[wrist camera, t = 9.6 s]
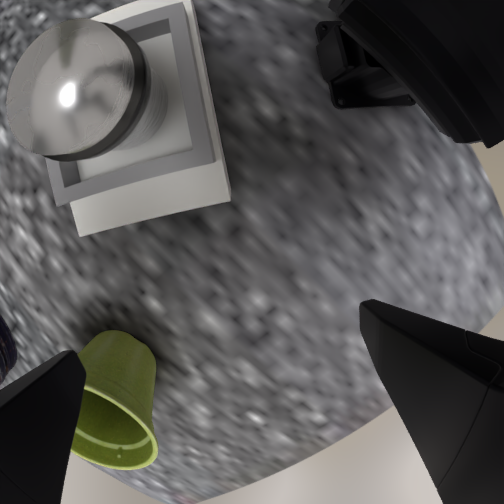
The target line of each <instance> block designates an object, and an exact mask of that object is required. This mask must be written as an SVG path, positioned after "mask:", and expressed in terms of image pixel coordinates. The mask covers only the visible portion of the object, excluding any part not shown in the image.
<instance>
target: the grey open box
mask: <svg viewBox="0 0 504 504" xmlns="http://www.w3.org/2000/svg"><path fill="white" fill-rule="evenodd" d="M91 19H92V20H96V21H99V22H104V23H109V24H112V25H115V26H117V27H119V28H121V29H123V30H124V31H125V32H126V33H128V34H129V35H130V36H131V37H132V38H133V39H134V40H135V41H136V42H137V44H138V45H139V46H140V47H141V48H142V50H143V51H144V53H145V54H146V57H147V59H148V62H149V65H150V66H151V67H152V68H153V69H154V70H155V71H156V72H157V73H158V74H159V75H160V76H161V77H162V79H163V81H164V82H165V85H166V87H167V91H168V109H167V113H166V116H165V118H164V121H163V123H162V124H161V126H160V128H159V129H158V131H157V132H156V133H155V134H154V135H153V136H152V137H151V138H150V139H149V140H148V141H146V142H145V143H143V144H141V145H140V146H138V147H135V148H132V149H128V150H119V151H109V152H108V153H106V154H104V155H101V156H99V157H96V158H92V159H86V160H78V161H70V162H60V161H55V160H51V159H49V158H46V157H45V158H46V163H47V168H48V173H49V177H50V182H51V186H52V190H53V194H54V198H55V202H56V206H57V207H58V206H61V205H63V204H66V203H69V202H70V205H71V208H72V212H73V216H74V219H75V223H76V226H77V230H78V233H79V236H80V237H82V236H85V235H89V234H93V233H97V232H100V231H104V230H108V229H112V228H116V227H120V226H123V225H127V224H131V223H135V222H140V221H144V220H148V219H152V218H156V217H160V216H165V215H169V214H173V213H178V212H182V211H186V210H191V209H195V208H200V207H205V206H209V205H214V204H219V203H224V202H228V201H231V187H230V182H229V177H228V173H227V168H226V163H225V158H224V153H223V148H222V143H221V138H220V133H219V128H218V123H217V118H216V113H215V108H214V103H213V98H212V93H211V88H210V83H209V78H208V73H207V68H206V63H205V58H204V53H203V48H202V43H201V37H200V32H199V27H198V22H197V17H196V12H195V9H194V5H193V2H192V0H138V1H135V2H132V3H129V4H126V5H124V6H121V7H118V8H115V9H113V10H110V11H108V12H105V13H103V14H100V15H98V16H95V17H93V18H91Z"/></svg>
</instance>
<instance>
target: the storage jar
mask: <svg viewBox="0 0 504 504" xmlns="http://www.w3.org/2000/svg"><path fill="white" fill-rule="evenodd" d="M16 360H17V350H16V345H15V342H14V339H13V336H12V334H11V332H10V330H9V328H8V326H7V324H6V323H5V321H4V320H3V318H2V317H1V315H0V385H1V384H2V382H3V381H4V379H5V377H6V375H7V374H8V372H9V371H10V370H11V369H12V368H13V367H14V365H15V363H16Z"/></svg>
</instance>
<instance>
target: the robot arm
mask: <svg viewBox="0 0 504 504" xmlns="http://www.w3.org/2000/svg"><path fill="white" fill-rule="evenodd" d="M328 8H330V9H331V10H332V11H334V12H335V13H337V18H338V19H340V20H341V21H322V22H319V23H318V24H317V26H316V33H317V36H318V40H319V44H318V45H317V52H318V56H319V60H320V64H321V68H322V73H323V77H324V80H325V81H327V82H329V87H330V91H331V96H332V101H333V105H334V106H335V107H336V108H337V109H352V108H367V107H387V106H412V105H415V104H416V103H417V104H418V105H419V106H420V107H421V109H422V110H423V111H424V112H425V113H426V115H427V116H428V117H429V118H430V120H431V121H432V122H433V123H434V125H435V126H436V127H437V128H438V130H439V131H440V132H442V133H443V134H445V135H447V136H449V137H451V138H452V139H453V141H454V142H455V143H467V144H472V143H477V142H483V143H484V145H485V146H486V147H487V148H491V147H493V146H494V145H496V144H498V143H499V142H501V141H503V140H504V0H330V3H329V6H328ZM321 26H323V27H325V28H326V31H324V30H322V29H321ZM408 96H409V97H410V98H411V102H410V101H409V100H408ZM338 99H342V100H343V105H340V104H339V103H338ZM359 312H360V331H361V334H362V337H363V339H364V341H365V344H366V346H367V349H368V351H369V354H370V356H371V359H372V361H373V364H374V366H375V369H376V371H377V373H378V375H379V377H380V379H381V381H382V383H383V385H384V387H385V389H386V390H387V392H388V394H389V396H390V398H391V400H392V402H393V403H394V405H395V407H396V409H397V411H398V413H399V415H400V417H401V419H402V420H403V422H404V424H405V426H406V428H407V430H408V432H409V434H410V436H411V438H412V440H413V442H414V444H415V446H416V448H417V450H418V452H419V454H420V456H421V458H422V460H423V462H424V464H425V466H426V468H427V470H428V472H429V474H430V476H431V478H432V480H433V483H434V485H435V487H436V488H437V491H438V494H439V496H440V498H441V500H442V502H443V504H504V341H501V340H497V339H493V338H490V337H487V336H483V335H480V334H477V333H474V332H471V331H468V330H467V331H465V329H462V328H459V327H456V326H453V325H450V324H447V323H444V322H441V321H438V320H435V319H432V318H429V317H426V316H423V315H420V314H417V313H414V312H411V311H408V310H405V309H402V308H399V307H396V306H393V305H390V304H387V303H384V302H381V301H378V300H375V299H370V300H367V301H363V302H361V303H360V306H359ZM85 382H86V370H85V368H84V366H83V364H82V362H81V361H80V359H79V357H78V355H77V353H76V352H75V351H73V350H66V351H62V352H61V353H59V354H57V355H56V356H54V357H52V358H51V359H49V360H48V361H46V362H44V363H43V364H41V365H40V366H38V367H36V368H35V369H33V370H31V371H30V372H28V373H27V374H25V375H23V376H22V377H20V378H19V379H17V380H15V381H14V382H12V383H11V384H9V385H7V386H6V387H4V388H3V389H1V390H0V504H60V503H61V497H62V491H63V486H64V480H65V475H66V470H67V465H68V461H69V455H70V451H71V447H72V443H73V439H74V434H75V430H76V426H77V423H78V419H79V415H80V410H81V404H82V398H83V392H84V387H85Z"/></svg>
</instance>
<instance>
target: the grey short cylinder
mask: <svg viewBox="0 0 504 504" xmlns="http://www.w3.org/2000/svg"><path fill="white" fill-rule="evenodd" d="M6 105H7V117H8V121H9V125H10V128H11V130H12V133H13V134H14V136H15V138H16V139H17V140H18V142H19V143H20V144H21V145H22V146H23V147H25V148H26V149H28V150H29V151H31V152H33V153H36V154H40V155H43V156H44V157H46V158H49V159H51V160H55V161H60V162H70V161H78V160H86V159H92V158H96V157H99V156H101V155H104V154H106V153H108V152H109V151H119V150H128V149H132V148H135V147H138V146H140V145H141V144H143V143H145V142H146V141H148V140H149V139H150V138H151V137H152V136H153V135H154V134H155V133H156V132H157V131H158V129H159V128H160V126H161V124H162V123H163V121H164V118H165V116H166V113H167V109H168V91H167V87H166V85H165V82H164V81H163V79H162V77H161V76H160V75H159V74H158V73H157V72H156V71H155V70H154V69H153V68H152V67H151V66H150V65H149V62H148V59H147V57H146V54H145V53H144V51H143V50H142V48H141V47H140V46H139V45H138V44H137V42H136V41H135V40H134V39H133V38H132V37H131V36H130V35H129V34H128V33H126V32H125V31H124V30H123V29H121V28H119V27H117V26H115V25H112V24H109V23H104V22H99V21H96V20H92V19H86V18H79V19H72V20H67V21H64V22H61V23H59V24H57V25H55V26H53V27H51V28H50V29H48V30H46V31H45V32H44V33H42V34H41V35H40V36H39V37H38V38H37V39H35V40H34V41H33V42H32V44H31V45H30V46H29V47H28V48H27V49H26V51H25V52H24V53H23V55H22V56H21V58H20V60H19V61H18V63H17V65H16V67H15V69H14V71H13V74H12V77H11V80H10V83H9V87H8V93H7V103H6Z"/></svg>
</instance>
